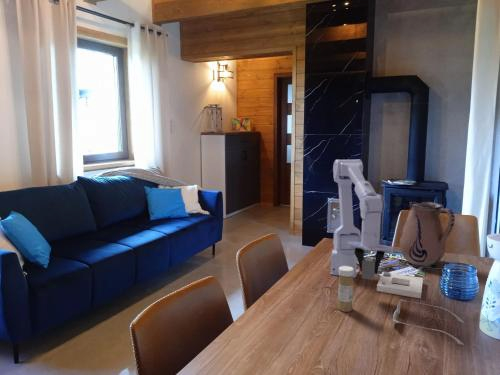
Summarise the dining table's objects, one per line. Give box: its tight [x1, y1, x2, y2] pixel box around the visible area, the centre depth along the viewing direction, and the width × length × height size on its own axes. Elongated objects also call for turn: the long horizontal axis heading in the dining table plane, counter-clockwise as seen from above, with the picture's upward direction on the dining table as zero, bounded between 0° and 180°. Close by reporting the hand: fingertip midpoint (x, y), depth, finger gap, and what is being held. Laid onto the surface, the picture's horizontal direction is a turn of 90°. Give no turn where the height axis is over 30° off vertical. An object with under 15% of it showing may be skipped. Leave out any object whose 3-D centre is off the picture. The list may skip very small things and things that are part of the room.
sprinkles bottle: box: [337, 266, 354, 313], centre depth 122 cm, size 5×5×14 cm
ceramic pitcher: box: [398, 201, 456, 267], centre depth 160 cm, size 18×21×25 cm
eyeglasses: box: [392, 299, 465, 346], centre depth 112 cm, size 15×18×4 cm
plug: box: [361, 256, 377, 281], centre depth 130 cm, size 4×4×7 cm
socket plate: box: [376, 271, 424, 299], centre depth 139 cm, size 14×14×3 cm
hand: (368, 271), depth 130 cm, fingers closed on plug, 4 cm apart
